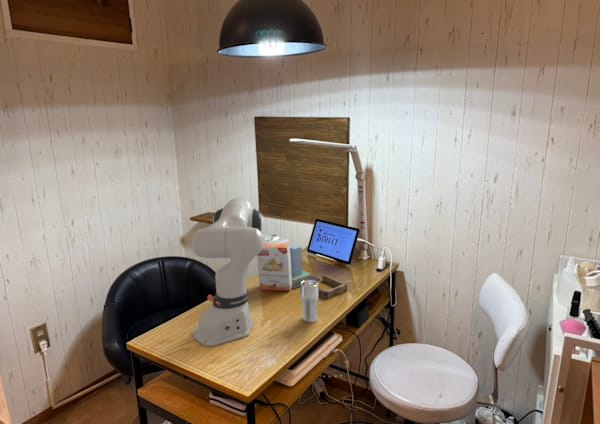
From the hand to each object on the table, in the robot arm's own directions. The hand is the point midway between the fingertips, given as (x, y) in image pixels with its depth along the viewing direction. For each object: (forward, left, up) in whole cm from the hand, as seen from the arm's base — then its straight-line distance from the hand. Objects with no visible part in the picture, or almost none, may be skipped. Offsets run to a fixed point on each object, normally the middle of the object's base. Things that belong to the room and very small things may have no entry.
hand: (280, 249), depth 207 cm
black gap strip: (-2, -21, -10) cm, 23 cm away
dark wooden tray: (+1, -33, -10) cm, 34 cm away
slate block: (+1, -12, -10) cm, 15 cm away
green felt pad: (+1, -12, -10) cm, 15 cm away
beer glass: (-21, -49, -11) cm, 54 cm away
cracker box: (-15, -18, -10) cm, 25 cm away
